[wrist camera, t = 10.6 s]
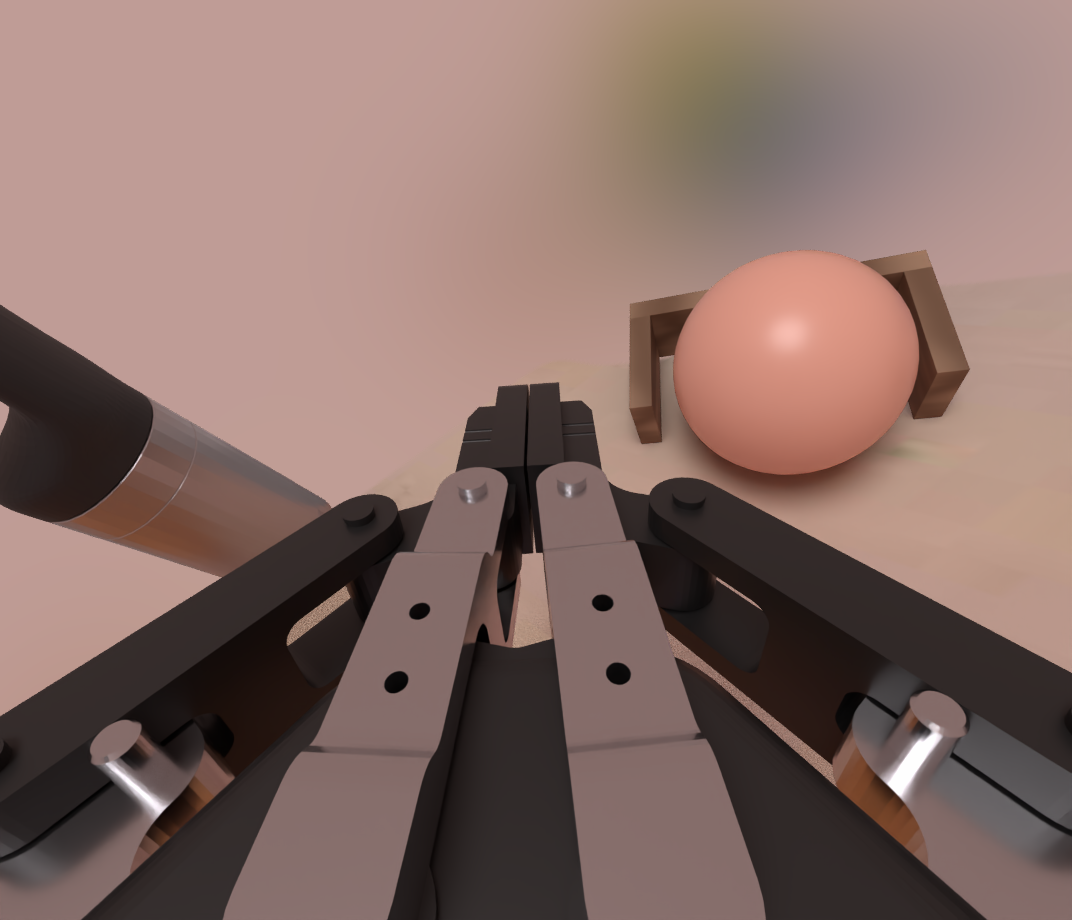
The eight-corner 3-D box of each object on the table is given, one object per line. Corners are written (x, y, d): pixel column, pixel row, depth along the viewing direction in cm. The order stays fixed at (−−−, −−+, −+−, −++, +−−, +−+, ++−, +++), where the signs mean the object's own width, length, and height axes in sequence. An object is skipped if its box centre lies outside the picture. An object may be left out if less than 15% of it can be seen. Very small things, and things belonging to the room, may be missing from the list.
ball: (671, 473, 26) (656, 232, 28) (686, 485, 39) (674, 317, 40) (983, 455, 22) (946, 172, 24) (888, 474, 34) (868, 288, 36)
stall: (641, 443, 39) (629, 408, 35) (640, 345, 44) (630, 303, 39) (941, 416, 33) (969, 369, 29) (905, 304, 37) (925, 249, 33)
